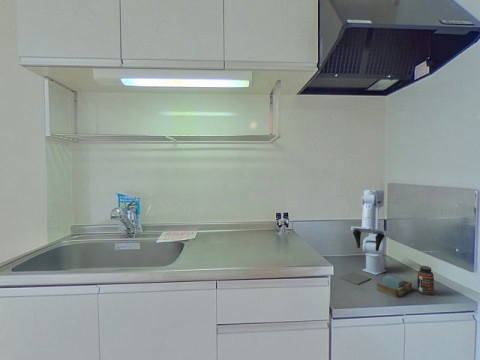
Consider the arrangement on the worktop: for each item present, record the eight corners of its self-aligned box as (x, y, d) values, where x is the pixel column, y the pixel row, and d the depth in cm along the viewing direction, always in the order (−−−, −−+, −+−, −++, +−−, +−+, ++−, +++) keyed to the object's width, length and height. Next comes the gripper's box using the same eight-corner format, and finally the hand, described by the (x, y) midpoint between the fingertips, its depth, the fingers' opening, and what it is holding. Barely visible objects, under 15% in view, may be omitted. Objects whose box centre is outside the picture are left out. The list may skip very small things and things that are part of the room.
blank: (387, 285, 126) (387, 275, 126) (403, 291, 120) (403, 280, 120) (383, 288, 124) (382, 277, 124) (398, 293, 118) (398, 282, 118)
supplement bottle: (421, 295, 116) (421, 269, 115) (414, 289, 121) (414, 264, 121) (436, 295, 115) (436, 269, 114) (429, 289, 121) (428, 264, 120)
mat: (353, 273, 142) (353, 271, 142) (371, 279, 133) (371, 278, 133) (339, 278, 136) (339, 277, 136) (357, 285, 127) (357, 283, 127)
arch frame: (391, 282, 128) (391, 276, 128) (411, 289, 121) (411, 283, 121) (377, 290, 122) (377, 283, 122) (397, 297, 114) (397, 290, 114)
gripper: (354, 215, 122) (352, 245, 117) (388, 220, 118) (388, 251, 114) (350, 218, 128) (349, 247, 124) (383, 223, 125) (383, 252, 121)
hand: (367, 249), depth 119 cm, fingers open, 7 cm apart
